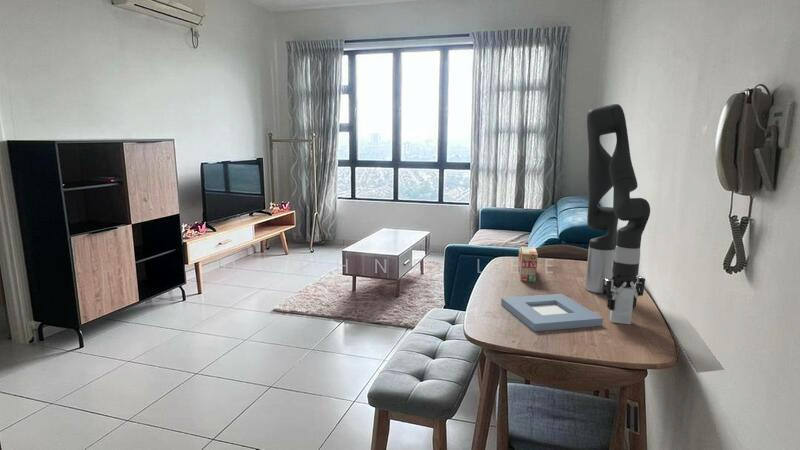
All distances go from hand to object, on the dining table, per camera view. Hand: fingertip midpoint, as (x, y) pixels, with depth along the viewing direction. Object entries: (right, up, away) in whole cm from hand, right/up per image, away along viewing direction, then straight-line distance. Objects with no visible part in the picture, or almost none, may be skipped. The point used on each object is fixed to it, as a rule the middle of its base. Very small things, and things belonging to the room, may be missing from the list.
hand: (621, 308), depth 151 cm
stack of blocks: (-17, +5, +52) cm, 55 cm away
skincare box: (0, -4, +1) cm, 5 cm away
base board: (-22, -3, +6) cm, 23 cm away
